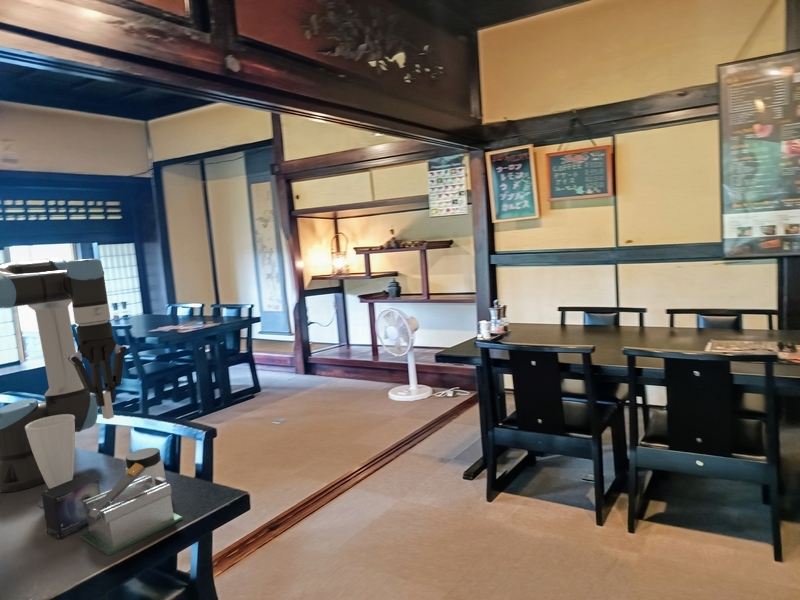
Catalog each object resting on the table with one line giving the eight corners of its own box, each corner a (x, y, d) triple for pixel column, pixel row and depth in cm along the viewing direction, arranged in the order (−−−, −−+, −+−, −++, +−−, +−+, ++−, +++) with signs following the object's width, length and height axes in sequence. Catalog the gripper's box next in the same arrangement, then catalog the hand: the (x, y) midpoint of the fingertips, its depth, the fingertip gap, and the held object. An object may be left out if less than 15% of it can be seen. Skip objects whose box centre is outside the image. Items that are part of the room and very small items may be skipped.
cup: (93, 494, 146) (81, 418, 144) (44, 512, 138) (30, 431, 136) (79, 484, 154) (67, 411, 152) (32, 500, 146) (19, 423, 143)
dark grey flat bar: (97, 521, 118) (91, 516, 117) (88, 516, 121) (83, 511, 120) (148, 471, 127) (143, 465, 126) (139, 467, 129) (134, 462, 129)
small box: (60, 540, 123) (53, 497, 122) (46, 534, 127) (38, 492, 126) (105, 518, 132) (99, 477, 131) (91, 513, 136) (85, 473, 135)
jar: (132, 508, 136) (125, 463, 135) (128, 497, 143) (121, 454, 141) (170, 497, 141) (164, 453, 139) (164, 486, 148) (158, 444, 146)
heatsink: (81, 537, 124) (75, 501, 123) (152, 505, 137) (147, 472, 136) (109, 555, 115) (102, 517, 114) (182, 519, 128) (177, 484, 127)
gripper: (70, 328, 123) (86, 428, 125) (127, 318, 133) (142, 411, 135) (57, 327, 127) (73, 424, 130) (114, 318, 138) (127, 407, 140)
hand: (108, 417), depth 133 cm, fingers closed
